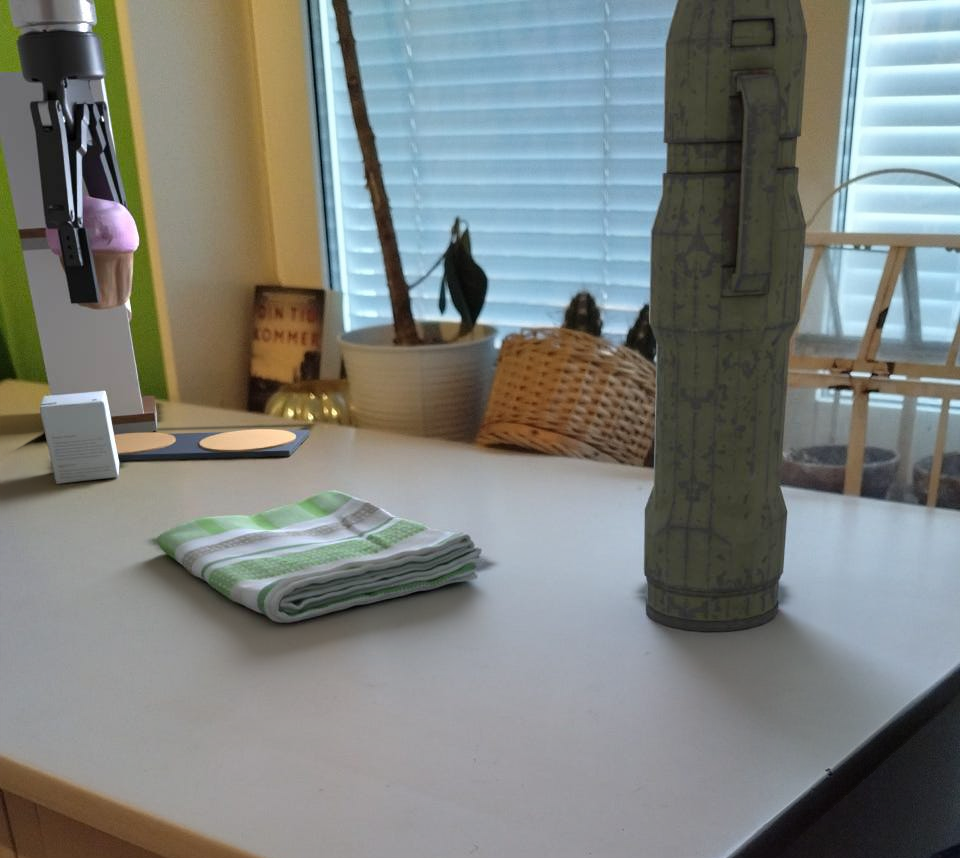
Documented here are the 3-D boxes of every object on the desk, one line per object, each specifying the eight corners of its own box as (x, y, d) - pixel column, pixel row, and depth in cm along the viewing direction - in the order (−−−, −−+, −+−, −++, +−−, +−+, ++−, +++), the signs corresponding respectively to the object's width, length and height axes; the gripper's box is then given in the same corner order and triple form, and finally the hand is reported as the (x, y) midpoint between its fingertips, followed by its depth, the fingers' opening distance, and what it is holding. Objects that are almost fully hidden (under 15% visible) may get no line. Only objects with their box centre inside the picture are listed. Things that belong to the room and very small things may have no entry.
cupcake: (48, 308, 133) (27, 198, 128) (129, 299, 137) (112, 192, 132) (79, 315, 126) (58, 199, 122) (163, 305, 131) (146, 193, 126)
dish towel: (270, 632, 87) (264, 580, 85) (151, 554, 104) (143, 510, 102) (490, 580, 94) (488, 531, 92) (345, 516, 112) (341, 474, 110)
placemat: (61, 462, 135) (59, 454, 135) (94, 441, 144) (93, 433, 144) (289, 456, 133) (289, 448, 133) (309, 435, 142) (308, 427, 141)
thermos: (681, 647, 81) (703, -37, 64) (618, 591, 91) (622, -13, 74) (814, 629, 82) (870, -42, 65) (737, 576, 93) (768, -17, 76)
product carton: (120, 465, 133) (106, 389, 129) (118, 478, 128) (104, 400, 124) (58, 471, 132) (43, 394, 128) (54, 484, 127) (38, 405, 123)
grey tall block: (157, 431, 147) (99, 68, 130) (59, 440, 145) (-13, 72, 128) (156, 413, 157) (102, 72, 140) (65, 421, 155) (-1, 77, 138)
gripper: (52, 21, 111) (102, 309, 122) (134, 35, 129) (171, 282, 140) (-33, 27, 111) (24, 312, 122) (61, 39, 130) (103, 285, 141)
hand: (102, 296), depth 131 cm, fingers closed on cupcake, 9 cm apart
